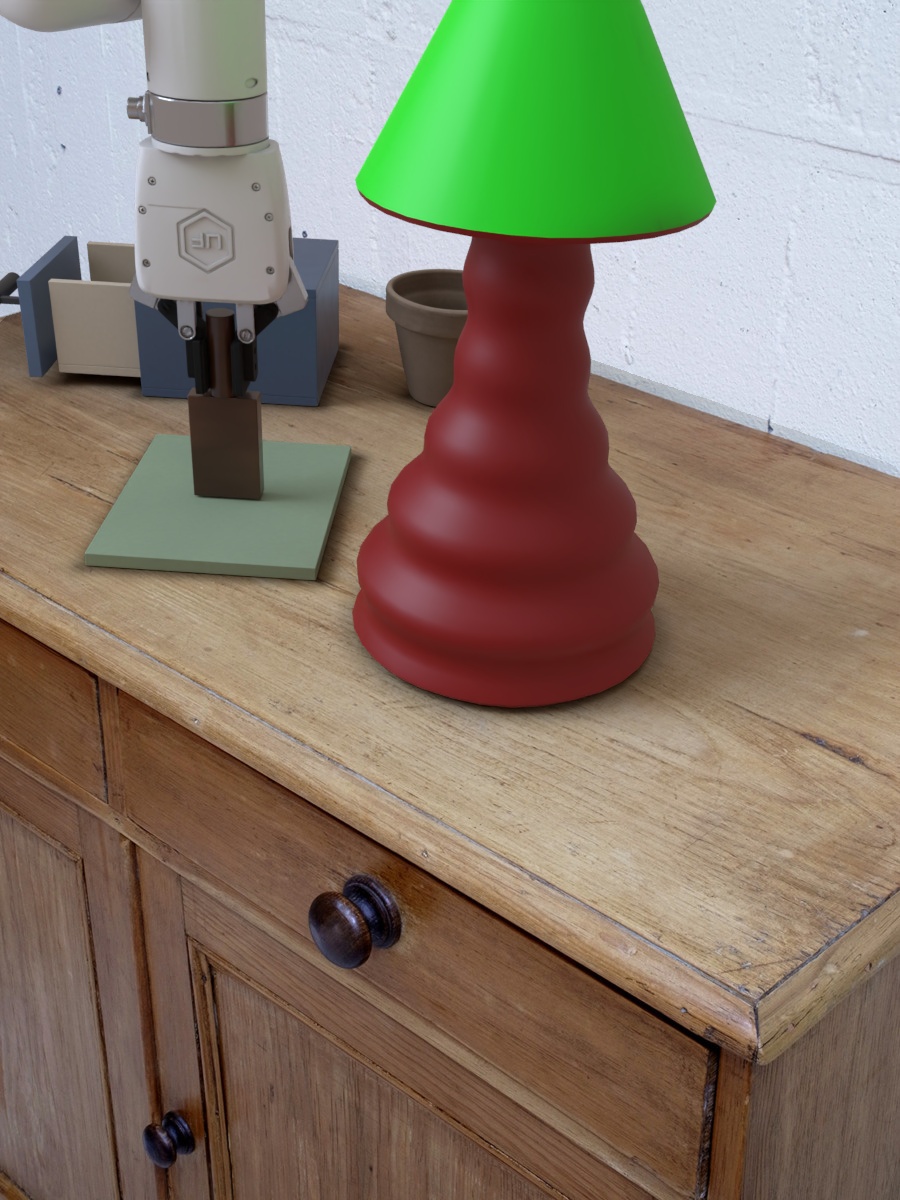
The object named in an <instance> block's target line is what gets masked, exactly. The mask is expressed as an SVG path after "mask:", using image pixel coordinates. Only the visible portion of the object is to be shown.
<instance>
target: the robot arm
mask: <svg viewBox="0 0 900 1200" xmlns="http://www.w3.org/2000/svg"><path fill="white" fill-rule="evenodd" d="M0 16H1V17H3V18H4V19H5V20H8V21H9V22H11V23H12V24H15V25H16V26H19V27H20V28H24V29H27V30H31V31H34V32H38V33H57V32H64V31H71V30H77V29H84V28H89V27H95V26H96V27H97V26H103V25H112V24H120V23H129V22H135V21H140V20H141V21H142V32H143V33H142V35H143V44H144V45H143V47H144V60H145V70H146V71H145V73H146V85H147V86H146V87H147V90H145V92H144V94H143V95H139V96H138V97H134V96H133V97H132V96H129V97H127V100H126V114H127V115H126V116H127V118H128V119H129V120H139V121H140V122H141V123H145V126H146V127H147V134H148V135H149V136H148V137H145V138H144V139H142V140H140V141H139V142H138V148H137V155H136V161H135V163H136V164H135V177H134V199H133V201H134V204H133V205H134V208H133V210H134V212H133V213H134V214H133V219H134V220H133V221H134V222H133V223H134V224H133V228H134V229H133V230H134V232H133V233H134V235H133V236H134V244H135V266H136V272H135V274H134V277H133V280H132V283H131V286H130V289H129V296H130V297H131V298H132V299H134V300H136V301H138V302H140V303H142V304H144V305H147V306H149V307H151V308H153V309H154V308H155V309H157V310H159V312H160V313H161V314H162V315H163V316H164V317H165V318H166V319H167V320H168V321H170V322H171V323H172V324H173V325H174V326H175V327H176V328H177V329H178V332H179V335H180V336H181V337H182V338H183V339H185V343H186V358H187V373H188V377H189V378H195V389H196V394H203V395H204V394H205V393H207V392H208V390H209V388H210V383H209V366H208V349H207V333H206V322H205V321H204V305H203V302H219V303H236V317H237V330H236V331H235V339H234V340H233V341H232V343H231V367H232V387H233V394H235V395H236V396H237V397H244V395H245V393H246V391H247V389H248V387H249V385H250V382H255V381H256V379H257V376H258V358H257V335H259V334H260V333H261V332H262V331H263V330H264V329H265V328H266V327H267V326H268V325H269V324H270V323H271V322H272V321H273V320H274V319H275V318H278V317H280V316H285V315H288V314H290V313H293V312H296V311H299V310H301V309H303V308H304V307H305V306H306V304H307V301H308V298H309V297H308V294H307V292H306V289H305V287H304V285H303V282H302V280H301V278H300V276H299V273H298V271H297V269H296V267H295V264H294V250H293V238H294V236H293V226H292V216H291V207H290V198H289V191H288V185H287V178H286V172H285V166H284V162H283V161H284V160H283V156H282V153H281V149H280V148H281V147H280V145H279V142H278V141H277V140H275V139H271V138H270V135H269V134H270V133H269V128H270V127H269V101H268V97H269V96H268V95H269V94H268V61H267V60H268V59H267V31H266V30H267V29H266V27H267V26H266V0H0Z"/></svg>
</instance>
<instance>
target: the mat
mask: <svg viewBox="0 0 900 1200" xmlns="http://www.w3.org/2000/svg"><path fill="white" fill-rule="evenodd" d="M262 443H263V469H264V492H263V494H262V497H261V499H247V498H231V497H215V496H199V495H194V484H193V469H192V454H191V440H190V435H185V434H184V435H183V434H181V435H180V434H169V433H167V434H166V433H156V434H155V436H154V437H153V439H152V440H151V443H150V444H149V445H148V447H147V449H146V451H145V452H144V453H143V456H142V457H141V459H140V461H139V463H138V464H137V466H136V467H135V469H134V470H133V472H132V474H131V476H130V477H129V479H128V480H127V482H126V483H125V486H124V487H123V489H122V491H121V492H120V493H119V495H118V497H117V499H116V500H115V502H114V504H113V505H112V507H111V508H110V510H109V512H108V514H107V515H106V517H105V519H104V521H103V522H102V524H101V525H100V526H99V528H98V530H97V532H96V534H95V535H94V537H93V539H92V540H91V542H90V543H89V544H88V546H87V548H86V550H85V552H84V561H85V566H90V567H103V568H104V567H105V568H117V569H119V568H120V569H137V570H150V571H164V572H165V571H166V572H179V573H180V572H181V573H182V572H183V573H197V574H212V575H226V576H227V575H228V576H241V577H242V576H243V577H256V578H257V577H258V578H269V579H270V578H271V579H286V580H287V579H288V580H300V581H301V580H302V581H303V580H304V581H316V580H317V578H318V574H319V570H320V568H321V563H322V560H323V556H324V553H325V551H326V547H327V542H328V539H329V535H330V532H331V530H332V525H333V523H334V519H335V518H334V517H335V515H336V512H337V508H338V504H339V501H340V499H341V498H340V497H341V494H342V491H343V486H344V483H345V480H346V477H347V473H348V471H349V467H350V466H349V465H350V463H351V459H352V446H351V445H342V444H327V443H326V444H325V443H310V442H309V443H308V442H297V441H296V442H293V441H281V440H280V441H279V440H278V441H277V440H264V439H262Z"/></svg>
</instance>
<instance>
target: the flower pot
mask: <svg viewBox="0 0 900 1200" xmlns="http://www.w3.org/2000/svg"><path fill="white" fill-rule="evenodd" d="M462 274H463V269H454V268H453V269H452V268H427V269H426V268H425V269H416V270H411V271H406V272H404V273H400V274H398V275H395V276H393V277H391V279H389V280H388V282H387V283H386V286H385V313H386V315H387V316H388V318H389V319H390V320H391V321H392V322H393V323H394V326H395V327H394V328H395V331H396V337H397V342H398V347H399V348H398V349H399V354H400V359H401V363H402V369H403V372H404V377H405V381H406V386H407V389H408V393H409V395H410V396H411V397H412V398H413V399H414V400H415V401H417V402H419V403H421V404H423V405H426V406H430V407H432V408H433V407H434V408H436V407H437V405H438V404H439V403H440V402H441V400H442V399H443V398H444V397H445V396H446V395H447V393H448V392H449V391H450V389H451V387H452V386H453V382H454V353H455V349H456V345H457V342H458V339H459V337H460V335H461V333H462V330H463V328H464V326H465V323H466V321H467V317H468V306H467V301H466V296H465V292H464V287H463V278H462Z"/></svg>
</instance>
